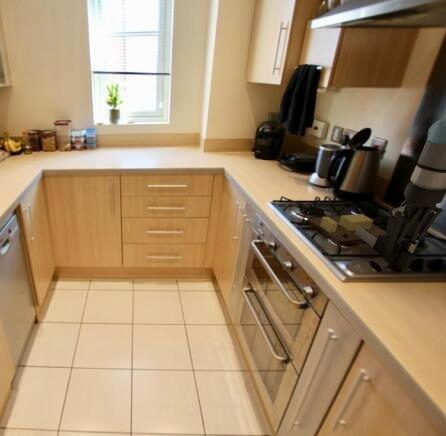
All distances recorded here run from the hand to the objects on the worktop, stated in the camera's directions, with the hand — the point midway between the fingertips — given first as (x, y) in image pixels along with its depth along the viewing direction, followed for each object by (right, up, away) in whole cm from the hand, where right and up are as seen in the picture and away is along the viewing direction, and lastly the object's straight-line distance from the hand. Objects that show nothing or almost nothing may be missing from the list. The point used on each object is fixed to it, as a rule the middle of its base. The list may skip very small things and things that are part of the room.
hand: (391, 261), depth 90 cm
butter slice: (-5, +9, +21) cm, 23 cm away
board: (+4, +8, +23) cm, 24 cm away
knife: (-1, +3, +5) cm, 6 cm away
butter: (+6, +9, +22) cm, 24 cm away
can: (+11, +2, +11) cm, 16 cm away
